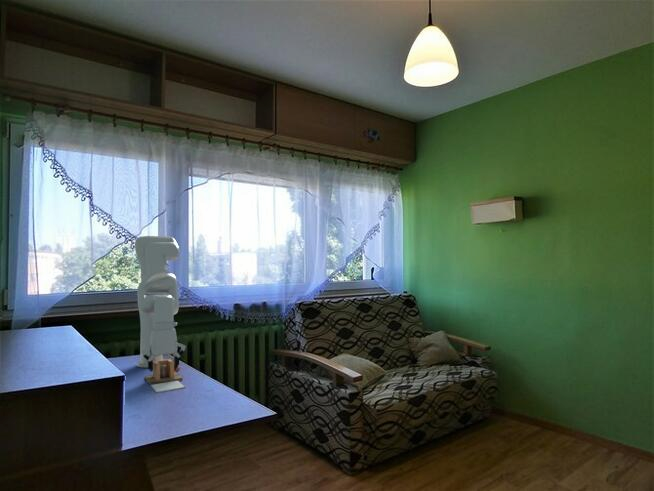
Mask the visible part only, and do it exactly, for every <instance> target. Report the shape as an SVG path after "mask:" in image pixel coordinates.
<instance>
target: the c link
mask: <svg viewBox="0 0 654 491" xmlns="http://www.w3.org/2000/svg"><path fill="white" fill-rule="evenodd" d="M161 365H166V375H168V376H169V377H170V378H173V377H174V362H173V359H170V358H169V359H167V358H166V359H164V360H159V361H153V371H152V375H153V377H154V378H155V379H156V380H160V376H161Z"/></svg>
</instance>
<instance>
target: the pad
mask: <svg viewBox="0 0 654 491" xmlns="http://www.w3.org/2000/svg"><path fill="white" fill-rule="evenodd" d="M150 387H151V388H152V389H153V390H154V391H155V393H164V392H168V391H169V392H170V391H174V390H179V389H180V390H181V389H185V388H186V386H185V385H184V384H183V383H182V382H180V381H173V382H167V383H160V384H154V385H150Z"/></svg>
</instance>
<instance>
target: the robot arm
mask: <svg viewBox="0 0 654 491" xmlns="http://www.w3.org/2000/svg"><path fill="white" fill-rule="evenodd" d="M134 248H135V249H134V250H135V254H136V257H137V259H138V262H139V265H140V283H139V284H138V287H137V292H136V295H137V307H138V312H139V321H140V345H139V346H140V353H139V354H140V355H139V356H140V357H139V358H140V359H139V360H140V361H138V362H136V367H138V368H147V369H148V370H149V371H150V372H152V373H153V361H159V360H165V359H163V356H166V355H173V354H174V355H175V357H174V359H173V360H174V367H176V368H178V366H180V357H181V356H182V355H183V354H184V351H185V350H186V347H187V346H186V345H185V344H183V343H179V342H178V337H177V331H176V328H175V327H176V326H178V322H175V320H174V315H176V314H178V312H179V308H180V304H179V291H178V290H179V288H178V287H179V286H178V280H177V279H178V278H177V277H176V275H175V274H174V273H169V271H168V270H169V269H168V261H177V260H179V258H180V252H181V251H180V246H179V245H178V243H177V241H176V239H175V238H174V237H172V236H166V235H165V236H162V235H160V236H157V235H145V236H144V235H143V236H142V235H141V236H139V237H137V238H136V239H135V241H134ZM146 294H147V295H146ZM178 347H179V348H181V349H180V350H179V351H178Z"/></svg>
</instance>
